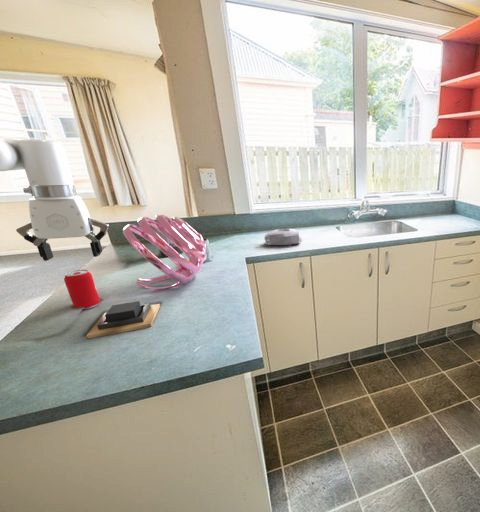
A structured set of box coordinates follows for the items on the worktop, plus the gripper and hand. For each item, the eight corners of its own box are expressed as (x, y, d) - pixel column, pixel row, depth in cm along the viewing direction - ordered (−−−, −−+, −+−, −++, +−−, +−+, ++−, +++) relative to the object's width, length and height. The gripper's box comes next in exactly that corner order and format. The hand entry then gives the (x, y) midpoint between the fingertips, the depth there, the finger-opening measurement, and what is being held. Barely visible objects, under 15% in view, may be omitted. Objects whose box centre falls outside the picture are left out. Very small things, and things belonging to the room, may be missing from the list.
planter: (210, 261, 140) (206, 240, 136) (199, 262, 138) (195, 241, 135) (212, 258, 144) (209, 238, 141) (202, 259, 142) (198, 239, 139)
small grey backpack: (300, 238, 182) (265, 241, 176) (299, 225, 179) (264, 227, 173) (301, 245, 168) (263, 247, 162) (300, 231, 165) (261, 233, 160)
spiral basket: (73, 249, 90) (154, 195, 98) (112, 247, 116) (173, 204, 123) (150, 311, 99) (218, 257, 107) (170, 297, 125) (224, 254, 132)
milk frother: (168, 258, 144) (162, 228, 140) (146, 254, 149) (139, 225, 144) (195, 250, 157) (189, 222, 153) (173, 247, 162) (167, 220, 157)
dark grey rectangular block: (108, 325, 84) (104, 314, 83) (115, 315, 89) (112, 305, 88) (136, 320, 87) (133, 310, 86) (142, 310, 92) (139, 300, 91)
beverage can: (98, 300, 101) (87, 267, 97) (103, 305, 97) (92, 271, 94) (72, 307, 96) (60, 273, 92) (77, 313, 93) (64, 277, 89)
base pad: (87, 338, 79) (84, 330, 79) (105, 315, 91) (103, 308, 91) (151, 326, 86) (149, 319, 85) (160, 306, 97) (158, 299, 97)
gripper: (-6, 194, 67) (19, 265, 72) (94, 193, 75) (110, 257, 80) (14, 191, 73) (36, 256, 78) (105, 190, 81) (119, 250, 86)
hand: (73, 257), depth 79 cm, fingers open, 9 cm apart
